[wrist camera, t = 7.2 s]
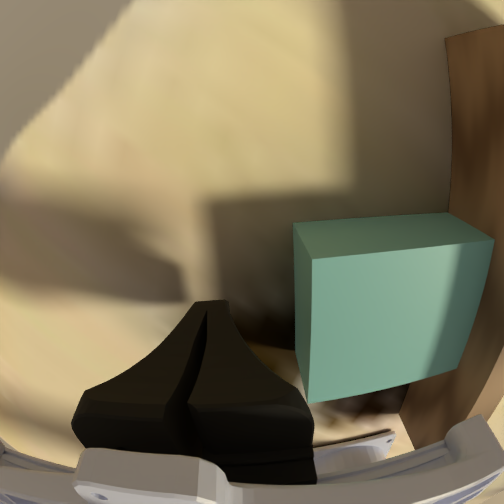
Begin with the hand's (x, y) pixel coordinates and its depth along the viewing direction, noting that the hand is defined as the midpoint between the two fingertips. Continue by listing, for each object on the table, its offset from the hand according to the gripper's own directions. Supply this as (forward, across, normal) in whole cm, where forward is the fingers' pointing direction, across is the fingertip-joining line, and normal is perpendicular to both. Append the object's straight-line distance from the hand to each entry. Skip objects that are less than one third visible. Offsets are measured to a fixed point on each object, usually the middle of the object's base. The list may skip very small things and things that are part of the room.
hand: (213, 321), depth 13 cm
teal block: (+2, -8, 0) cm, 8 cm away
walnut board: (+2, -13, 0) cm, 13 cm away
